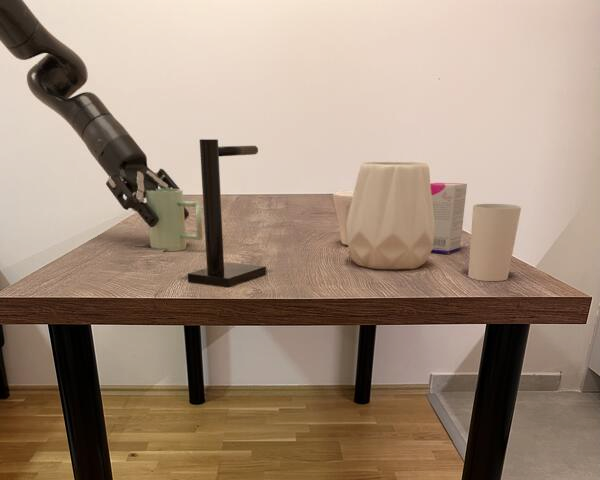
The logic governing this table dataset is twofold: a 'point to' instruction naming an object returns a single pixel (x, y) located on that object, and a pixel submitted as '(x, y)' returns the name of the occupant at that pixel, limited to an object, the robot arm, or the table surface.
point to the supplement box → (448, 216)
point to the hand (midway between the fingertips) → (170, 221)
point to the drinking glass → (492, 241)
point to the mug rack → (219, 221)
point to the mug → (171, 219)
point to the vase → (391, 216)
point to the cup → (343, 211)
